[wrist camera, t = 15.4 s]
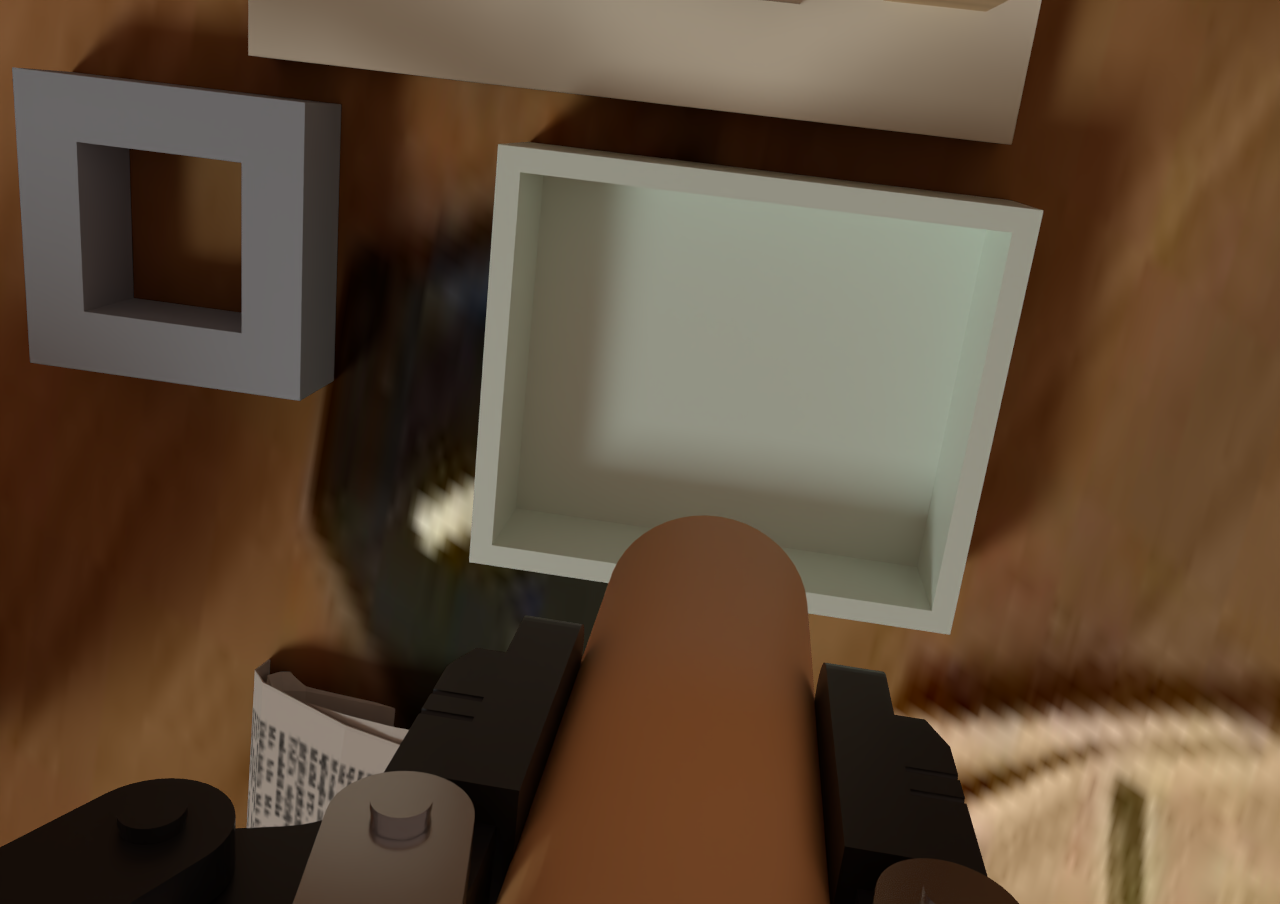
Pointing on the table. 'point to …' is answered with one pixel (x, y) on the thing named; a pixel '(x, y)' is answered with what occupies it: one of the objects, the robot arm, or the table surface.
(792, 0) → the taupe rounded block
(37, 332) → the socket block
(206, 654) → the table surface
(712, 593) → the dowel
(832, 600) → the tray
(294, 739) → the newspaper
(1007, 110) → the board
